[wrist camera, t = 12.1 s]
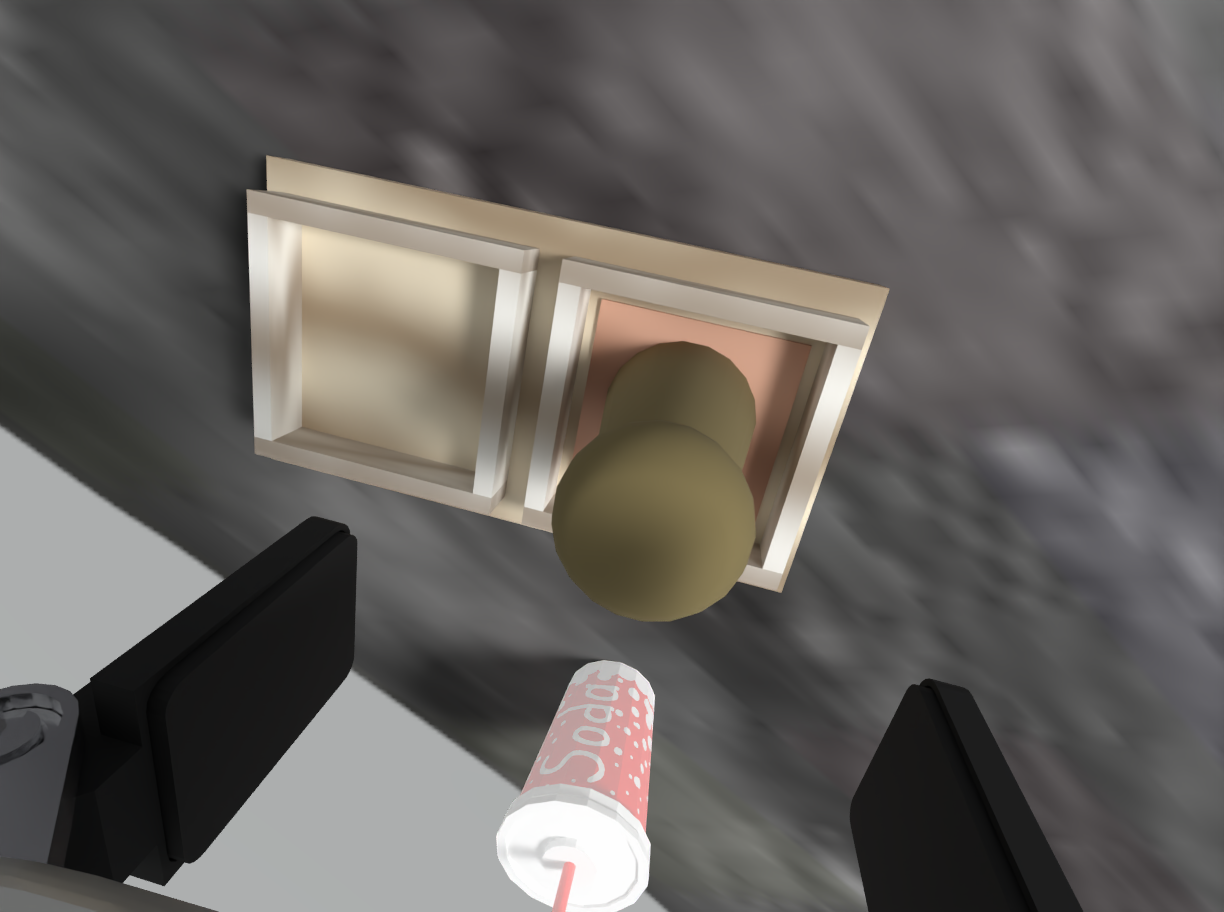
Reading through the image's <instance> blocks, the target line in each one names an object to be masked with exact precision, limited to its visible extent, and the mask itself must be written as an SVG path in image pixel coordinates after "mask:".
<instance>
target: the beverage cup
mask: <svg viewBox="0 0 1224 912" xmlns="http://www.w3.org/2000/svg"><path fill="white" fill-rule="evenodd" d="M654 701H655V695H654V693H653V690H652V688H651V686H650V683H649V682H648V681H647V680H646V679H645V678H644V677H643V676H642V675H641V674H640V673H639V672H638V671H637V670H636V669H634V668H631V667H629V666H627V665H625V664H623V663H621V662H614V661H606V660H602V661H597V662H592V663H588V664H586V665H585V666H583V667H582V668H580V669H579V670H578V671H576V672H575V674H574V676H573V678H572V680H571V681H570V683H569V685H568V688H567V690H566V692H565V695H564V697H563V699H562V701H561V704H560V706H559V708H558V710H557V713H556V715H555V717H554V720H553V722H552V724H551V726H550V729H549V731H548V733H547V736H546V738H545V740H544V742H543V745H542V747H541V749H540V751H539V754H538V756H537V758H536V761H535V763H534V765H533V767H532V770H531V772H530V774H529V776H528V779H527V781H526V783H525V786H524V788H523V790H522V792H521V795H520V796H519V797H517V798H516V799H514V800H513V802H512V804H511V806H510V807H509V809H508V811H507V813H506V815H505V817H504V820H503V822H502V824H501V826H500V828H499V830H498V833H497V835H496V839H497V854H498V858H499V860H500V862H501V864H502V866H503V867H504V869H505V871H506V873H507V875H508V876H509V878H510V879H511V880H512V881H513V882H514V883H516V884H517V885H518V886H519V887H520V888H521V889H522V890H523V891H525V892H526V893H527V894H528V895H529V896H530V897H532V898H534V899H536V900H538V901H541V902H542V903H545V904H546V905H549V906H551V907H553V909H552V912H565V911H566V912H617V911H619V910H621V909H623V908H625V907H627V906H629V905H631V904H633V903H635V902H636V901H637V899H638V898H639V896H640V895H641V894H642V893H643V891H644V890H645V888H646V887H647V886H648V878H649V862H650V846H651V844H650V842H649V840H648V838H647V835H646V819H647V804H648V790H649V775H650V761H651V746H652V732H653V717H654Z"/></svg>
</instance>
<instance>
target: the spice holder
mask: <svg viewBox="0 0 1224 912" xmlns="http://www.w3.org/2000/svg"><path fill="white" fill-rule="evenodd" d="M266 158H267V191H262V190H249V189H247V216H248V248H249V280H250V312H251V344H252V376H253V409H254V441H255V454H258V455H262V456H266V457H269V458H272V459H275V460H279V461H283V462H286V463H290V464H294V465H298V466H302V467H305V468H309V469H313V470H317V471H321V472H324V473H328V474H332V475H336V476H340V477H343V478H347V479H351V480H355V481H359V482H362V483H366V484H370V485H374V486H378V487H381V488H385V489H389V490H393V491H397V492H400V493H404V494H408V495H412V496H416V497H419V498H423V499H427V500H431V501H435V502H438V503H442V504H446V505H450V506H454V507H457V508H461V509H465V510H469V511H473V512H476V513H480V514H484V515H488V516H492V517H495V518H499V519H503V520H507V521H511V522H514V523H518V524H522V525H526V526H530V527H533V528H537V529H541V530H545V531H549V532H552V533H553V531H552V525H551V523H552V512H553V506H554V500H555V494H556V488H557V485H558V484H559V482H560V480H561V478H562V477H563V475H564V473H565V471H566V470H567V468H568V466H569V464H570V463H571V461H572V460H573V458H574V457H575V455H576V454H577V453H578V452H579V451H581V450H582V449H583V448H584V447H585V446H586V445H587V444H589V443H590V442H591V441H592V440H593V439H594V438H596V437H597V436H598V435H599V431H600V426H601V421H602V416H603V411H604V406H605V401H606V396H607V391H608V388H609V386H610V385H611V383H612V381H613V379H614V377H615V376H616V374H617V372H618V370H619V369H620V368H621V367H622V366H623V365H624V364H625V363H627V362H628V361H629V360H630V359H631V358H632V357H633V356H634V355H635V354H637V353H638V352H641V351H643V350H645V349H648V348H650V347H652V346H654V345H657V344H659V343H669V342H679V341H686V342H691V343H695V344H700V345H704V346H709V347H710V348H712V349H714V350H715V351H717V352H719V353H720V354H722V355H724V356H725V357H727V358H729V359H730V360H731V361H732V362H733V363H734V364H735V366H736V367H737V368H738V369H739V370H740V371H741V372H742V374H743V375H744V376H745V377H746V379H747V381H748V384H749V386H750V389H751V391H752V394H753V396H754V399H755V410H756V426H755V429H754V432H753V436H752V439H751V443H750V446H749V449H748V453H747V456H746V459H745V463H744V466H743V469H742V472H743V474H744V477H745V479H746V482H747V484H748V486H749V489H750V491H751V493H752V496H753V501H754V511H755V530H756V538H755V541H754V544H753V547H752V550H751V553H750V557H749V560H748V563H747V565H746V568H745V570H744V572H743V574H742V575H741V576H740V578H739V579H738V580H737V581H739V582H743V583H746V584H750V585H754V586H758V587H762V588H765V589H769V590H773V591H777V592H782V589H783V587H784V584H785V581H786V578H787V575H788V573H789V570H790V567H791V564H792V561H793V559H794V556H795V553H796V550H797V547H798V544H799V542H800V539H801V536H802V533H803V530H804V528H805V525H806V522H807V519H808V516H809V514H810V511H811V508H812V505H813V502H814V500H815V497H816V494H817V491H818V488H819V486H820V483H821V480H822V477H823V474H824V472H825V469H826V466H827V463H828V460H829V458H830V455H831V452H832V449H833V446H834V444H835V441H836V438H837V435H838V432H839V430H840V427H841V424H842V421H843V418H844V416H845V413H846V410H847V407H848V404H849V402H850V399H851V396H852V393H853V390H854V388H855V385H856V382H857V379H858V376H859V374H860V371H861V368H862V365H863V362H864V360H865V357H866V354H867V351H868V348H869V346H870V343H871V340H872V337H873V334H874V332H875V329H876V326H877V323H878V320H879V318H880V315H881V312H882V309H883V306H884V303H885V301H886V298H887V295H888V292H889V288H886V287H884V286H881V285H877V284H873V283H868V282H863V281H859V280H854V279H849V278H845V277H840V276H835V275H831V274H826V273H821V272H817V271H812V270H807V269H803V268H798V267H793V266H789V265H784V264H779V263H774V262H770V261H765V260H760V259H756V258H751V257H746V256H742V255H737V254H732V253H728V252H723V251H718V250H714V249H709V248H704V247H700V246H695V245H690V244H686V243H681V242H676V241H672V240H667V239H662V238H657V237H653V236H648V235H643V234H639V233H634V232H629V231H625V230H620V229H615V228H611V227H606V226H601V225H597V224H592V223H587V222H583V221H578V220H573V219H569V218H564V217H559V216H555V215H550V214H545V213H540V212H536V211H531V210H526V209H522V208H517V207H512V206H508V205H503V204H498V203H494V202H489V201H484V200H480V199H475V198H470V197H466V196H461V195H456V194H452V193H447V192H442V191H438V190H433V189H428V188H423V187H419V186H414V185H409V184H405V183H400V182H395V181H391V180H386V179H381V178H377V177H372V176H367V175H363V174H358V173H353V172H349V171H344V170H339V169H335V168H330V167H325V166H321V165H316V164H311V163H306V162H302V161H297V160H292V159H286V158H280V157H273V156H267V155H266Z"/></svg>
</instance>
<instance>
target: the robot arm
mask: <svg viewBox="0 0 1224 912" xmlns="http://www.w3.org/2000/svg"><path fill="white" fill-rule="evenodd" d="M356 571H357V539H356V537H355V536H354V535H350V530H349V528H348V526H347V525H345V524H343V523H339V522H335V521H331V520H327V519H324V518H320V517H316V516H314V517H310V518H308V519H306V520H305V521H303V522H302V523H301V524H299V525H298V526H297V527H295V528H294V529H293V530H291V531H290V532H289V533H287V534H286V535H284V536H283V537H282V538H280V539H279V540H278V541H276V542H275V543H274V544H272V545H271V546H269V547H268V548H267V549H265V550H264V551H263V552H261V553H260V554H259V555H257V556H256V557H255V558H253V559H252V560H250V561H249V562H248V563H246V564H245V565H244V566H242V567H241V568H240V569H238V570H237V571H235V572H234V573H233V574H231V575H230V576H229V577H227V578H226V579H225V580H223V581H222V582H220V583H219V584H218V585H216V586H215V587H214V588H212V589H211V590H210V591H208V592H207V593H206V594H204V595H203V596H201V597H200V598H199V599H197V600H196V601H195V602H194V603H192V604H191V605H189V606H188V607H186V608H185V609H184V610H182V611H181V612H180V613H178V614H177V615H176V616H174V617H173V618H171V619H170V620H169V621H167V622H166V623H165V624H163V625H162V626H161V627H159V628H158V629H157V630H155V631H154V632H153V633H151V634H150V635H148V636H147V637H146V638H144V639H143V640H142V641H140V642H139V643H137V644H136V645H135V646H133V647H132V648H131V649H129V650H128V651H127V652H125V653H124V654H123V655H121V656H120V657H118V658H117V659H116V660H114V661H113V662H112V663H110V664H109V665H108V666H106V667H105V668H103V669H102V670H101V671H99V672H98V673H97V674H95V675H94V676H93V677H91V678H90V681H91V682H90V683H88V684H87V685H86V686H84V687H83V688H81V689H80V690H79V691H77V692H76V693H75V694H72V693H71V692H70V691H68V690H66V689H63V688H61V687H58V686H56V685H46V684H27V685H17V686H10V687H7V688H3V689H0V912H217V911H214V910H211V909H208V908H204V907H201V906H198V905H194V904H191V903H187V902H184V901H181V900H177V899H174V898H171V897H167V896H164V895H161V894H157V893H154V892H150V891H147V890H144V889H140V888H137V887H133V886H130V885H127V884H123V882H124V881H125V880H126V879H127V877H128V876H129V875H131V876H134V877H137V878H140V879H144V880H147V881H150V882H153V883H156V884H159V885H162V886H165V885H166V884H167V883H168V881H169V880H170V879H171V878H172V876H173V875H174V874H175V873H176V872H177V870H178V869H179V868H180V867H181V866H182V864H183V863H184V862H185V863H192V862H195V861H196V860H197V859H198V858H199V857H201V855H202V854H203V853H204V852H205V851H206V850H207V848H208V847H209V846H210V845H211V844H212V842H213V841H214V840H215V839H216V837H217V836H218V835H219V834H220V833H221V831H222V830H223V829H224V828H225V826H226V825H227V824H228V823H229V821H230V820H231V819H232V818H233V817H234V815H235V814H236V813H237V811H238V810H239V809H240V808H241V807H242V805H243V804H244V803H245V802H246V801H247V799H248V798H249V797H250V796H251V794H252V793H253V792H254V791H255V789H256V788H257V787H258V786H259V784H260V783H261V782H262V781H263V780H264V778H265V777H266V776H267V775H268V773H269V772H270V771H271V770H272V769H273V767H274V766H275V765H276V764H277V762H278V761H279V760H280V759H281V757H282V756H283V755H284V754H285V753H286V751H287V750H288V749H289V748H290V746H291V745H292V744H293V743H294V741H295V740H296V739H297V738H298V736H299V735H300V734H301V733H302V731H303V730H304V729H305V728H306V727H307V725H308V724H309V723H310V722H311V720H312V719H313V718H314V717H315V716H316V714H317V713H318V712H319V711H320V709H321V708H322V707H323V706H324V705H325V703H326V702H327V701H328V700H329V698H330V697H331V696H332V695H333V693H334V692H335V691H336V690H337V689H338V687H339V686H340V685H341V684H342V682H343V681H344V680H345V678H346V677H347V675H348V674H349V672H350V669H351V667H352V664H353V660H354V640H355V606H356ZM850 824H851V829H852V834H853V839H854V844H855V848H856V853H857V858H858V863H859V868H860V873H861V877H862V882H863V887H864V892H865V897H866V902H867V906H868V911H869V912H1083V910H1082V908H1081V906H1080V904H1079V902H1078V900H1077V898H1076V896H1075V895H1074V893H1073V891H1072V889H1071V887H1070V885H1069V883H1068V881H1067V879H1066V877H1065V875H1064V873H1063V871H1062V869H1061V867H1060V865H1059V863H1058V861H1057V859H1056V858H1055V856H1054V854H1053V852H1052V850H1051V848H1050V846H1049V844H1048V842H1047V840H1046V838H1045V836H1044V834H1043V832H1042V830H1041V828H1040V826H1039V824H1038V823H1037V821H1036V819H1035V817H1034V815H1033V813H1032V811H1031V809H1030V807H1029V805H1028V803H1027V801H1026V799H1025V797H1024V795H1023V793H1022V791H1021V789H1020V788H1019V786H1018V784H1017V782H1016V780H1015V778H1014V776H1013V774H1012V772H1011V770H1010V768H1009V766H1008V764H1007V762H1006V760H1005V758H1004V756H1003V754H1002V753H1001V751H1000V749H999V747H998V745H997V743H996V741H995V739H994V737H993V735H992V733H991V731H990V729H989V727H988V725H987V723H986V721H985V719H984V717H983V716H982V714H981V712H980V710H979V708H978V706H977V704H976V702H975V700H974V698H973V696H972V694H971V693H970V692H969V690H967V689H965V688H963V687H960V686H956V685H952V684H948V683H944V682H941V681H937V680H933V679H925V680H924V681H922V682H921V684H920V685H915V684H913V685H911V686H910V687H909V688H908V689H907V691H906V693H905V695H904V697H903V699H902V701H901V703H900V705H899V707H898V709H897V711H896V713H895V715H894V717H893V719H892V721H891V723H890V725H889V727H888V729H887V731H886V733H885V735H884V737H883V739H882V741H881V743H880V745H879V747H878V749H877V751H876V753H875V755H874V757H873V759H872V761H871V763H870V765H869V767H868V769H867V771H866V773H865V775H864V777H863V779H862V781H861V783H860V785H859V787H858V789H857V791H856V793H855V795H854V797H853V799H852V803H851V807H850Z"/></svg>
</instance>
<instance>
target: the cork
mask: <svg viewBox="0 0 1224 912" xmlns="http://www.w3.org/2000/svg"><path fill="white" fill-rule="evenodd" d="M755 426H756V410H755V399H754V396H753V394H752V391H751V389H750V386H749V384H748V381H747V379H746V377H745V376H744V375H743V374H742V372H741V371H740V370H739V369H738V368H737V367H736V366H735V364H734V363H733V362H732V361H731V360H730V359H729V358H727V357H725V356H724V355H722V354H720V353H719V352H717V351H715V350H714V349H712V348H710V347H709V346H704V345H700V344H695V343H691V342H686V341H679V342H669V343H659V344H657V345H654V346H652V347H650V348H648V349H645V350H643V351H641V352H638V353H637V354H635V355H634V356H633V357H632V358H631V359H630V360H629V361H628V362H627V363H625V364H624V365H623V366H622V367H621V368H620V369H619V370H618V372H617V374H616V376H615V377H614V379H613V381H612V383H611V385H610V386H609V388H608V391H607V396H606V401H605V406H604V411H603V416H602V421H601V426H600V431H599V435H598V436H597V437H596V438H594V439H593V440H592V441H591V442H590V443H589V444H587V445H586V446H585V447H584V448H583V449H582V450H581V451H579V452H578V453H577V454H576V455H575V457H574V458H573V460H572V461H571V463H570V464H569V466H568V468H567V470H566V471H565V473H564V475H563V477H562V478H561V480H560V482H559V484H558V485H557V488H556V494H555V500H554V506H553V512H552V523H551V525H552V531H553V537H554V542H555V548H556V552H557V554H558V556H559V558H560V560H561V562H562V564H563V566H564V568H565V569H566V571H567V573H568V575H569V577H570V578H571V579H572V580H573V582H574V583H575V584H576V585H577V586H578V587H579V588H580V589H581V590H582V591H583V592H584V593H585V594H586V595H587V596H588V597H589V598H590V599H591V600H592V601H593V602H595V603H597V604H599V605H600V606H602V607H604V608H606V609H607V610H609V611H611V612H613V613H614V614H616V615H620V616H624V617H628V618H631V619H635V620H639V621H672V620H675V619H679V618H682V617H686V616H689V615H693V614H696V613H699V612H701V611H703V610H704V609H706V608H708V607H709V606H711V605H712V604H714V603H715V602H717V601H718V600H720V599H721V598H723V597H724V596H726V594H727V593H728V592H729V591H730V589H731V588H732V587H733V585H734V584H735V583H736V582H737V580H738V579H739V578H740V576H741V575H742V574H743V572H744V570H745V568H746V565H747V563H748V560H749V557H750V553H751V550H752V547H753V544H754V541H755V538H756V530H755V511H754V501H753V496H752V493H751V491H750V489H749V486H748V484H747V482H746V479H745V477H744V474H743V472H742V469H743V466H744V463H745V459H746V456H747V453H748V449H749V446H750V443H751V439H752V436H753V432H754V429H755Z"/></svg>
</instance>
